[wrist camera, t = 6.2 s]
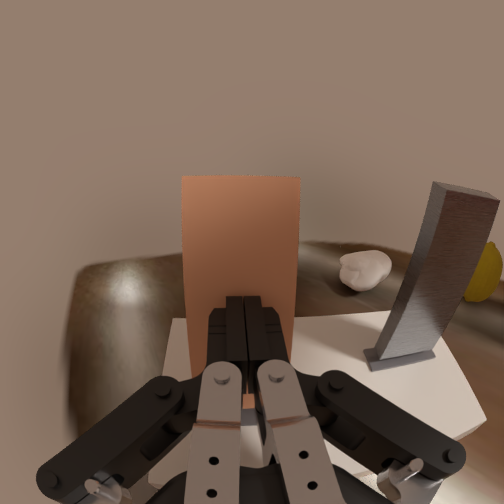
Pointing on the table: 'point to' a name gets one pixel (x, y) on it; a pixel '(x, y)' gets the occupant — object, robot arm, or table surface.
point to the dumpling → (364, 269)
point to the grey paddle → (438, 268)
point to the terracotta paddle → (238, 251)
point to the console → (357, 366)
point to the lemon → (485, 275)
